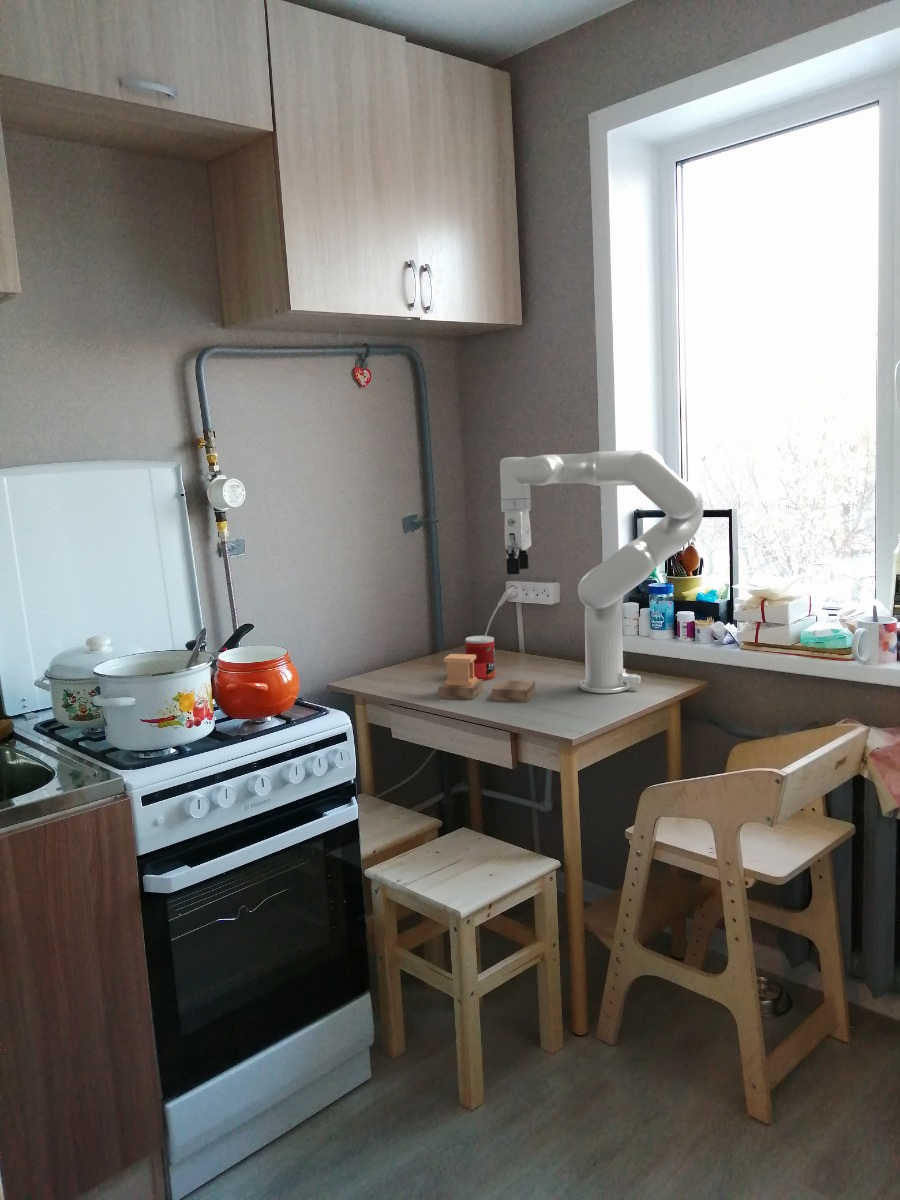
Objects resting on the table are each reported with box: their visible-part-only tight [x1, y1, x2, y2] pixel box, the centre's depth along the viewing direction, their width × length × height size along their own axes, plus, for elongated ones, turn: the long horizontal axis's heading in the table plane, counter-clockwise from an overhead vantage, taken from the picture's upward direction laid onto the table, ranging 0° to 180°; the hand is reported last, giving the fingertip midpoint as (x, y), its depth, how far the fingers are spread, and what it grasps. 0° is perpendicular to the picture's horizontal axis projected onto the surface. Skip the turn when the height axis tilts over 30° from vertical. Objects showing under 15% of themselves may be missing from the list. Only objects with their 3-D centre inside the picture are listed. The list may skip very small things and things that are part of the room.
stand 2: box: [491, 679, 536, 703], centre depth 240 cm, size 9×9×3 cm
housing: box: [443, 653, 477, 686], centre depth 243 cm, size 7×5×7 cm
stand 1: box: [438, 679, 484, 701], centre depth 244 cm, size 9×9×3 cm
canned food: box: [464, 635, 496, 681], centre depth 260 cm, size 8×8×11 cm
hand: (518, 571), depth 247 cm, fingers open, 9 cm apart
